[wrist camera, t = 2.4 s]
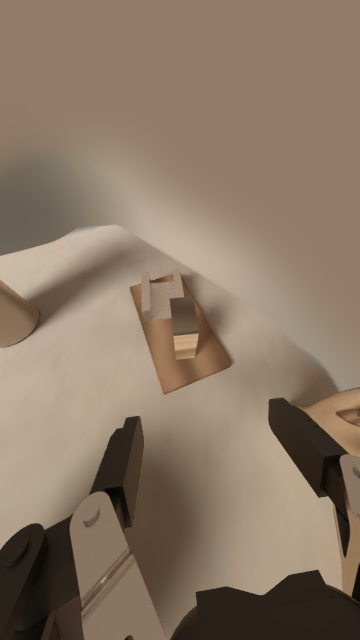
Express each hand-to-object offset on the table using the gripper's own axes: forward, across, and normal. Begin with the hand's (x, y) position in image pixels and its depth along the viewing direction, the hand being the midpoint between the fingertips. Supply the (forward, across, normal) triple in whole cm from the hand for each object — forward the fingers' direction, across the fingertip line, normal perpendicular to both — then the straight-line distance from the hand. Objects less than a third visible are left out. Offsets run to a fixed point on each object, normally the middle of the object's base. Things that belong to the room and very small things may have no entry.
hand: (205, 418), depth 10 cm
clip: (+25, +3, -5) cm, 25 cm away
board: (+22, +1, -1) cm, 22 cm away
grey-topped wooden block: (+18, 0, +2) cm, 18 cm away
